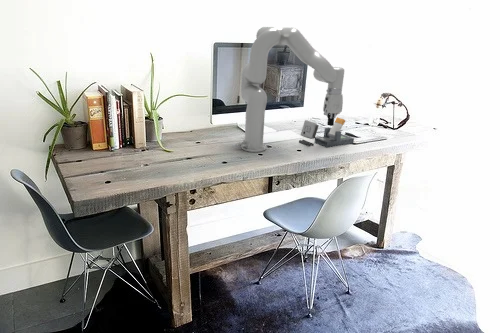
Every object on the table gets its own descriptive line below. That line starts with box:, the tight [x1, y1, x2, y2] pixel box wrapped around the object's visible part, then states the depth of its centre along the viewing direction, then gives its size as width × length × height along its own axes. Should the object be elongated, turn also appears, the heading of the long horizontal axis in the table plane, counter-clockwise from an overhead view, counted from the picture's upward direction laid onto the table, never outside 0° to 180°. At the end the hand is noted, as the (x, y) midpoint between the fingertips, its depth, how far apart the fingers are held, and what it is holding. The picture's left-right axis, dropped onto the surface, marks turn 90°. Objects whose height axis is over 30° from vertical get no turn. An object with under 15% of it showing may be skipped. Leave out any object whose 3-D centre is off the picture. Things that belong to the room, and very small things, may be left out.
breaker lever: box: [327, 116, 346, 139], centre depth 212 cm, size 2×6×12 cm, turn 34°
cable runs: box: [298, 139, 315, 147], centre depth 211 cm, size 4×9×1 cm, turn 32°
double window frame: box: [313, 127, 355, 149], centre depth 214 cm, size 20×10×8 cm, turn 122°
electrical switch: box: [300, 119, 320, 139], centre depth 225 cm, size 9×5×9 cm, turn 35°
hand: (330, 125), depth 209 cm, fingers closed
